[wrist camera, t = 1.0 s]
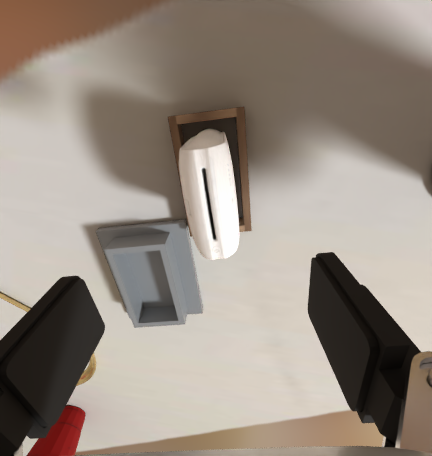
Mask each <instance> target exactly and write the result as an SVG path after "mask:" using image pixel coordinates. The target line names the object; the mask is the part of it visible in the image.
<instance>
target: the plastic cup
mask: <svg viewBox="0 0 432 456" xmlns="http://www.w3.org/2000/svg"><path fill="white" fill-rule="evenodd" d="M84 420H85V412H84V411H83V410H82V409H80V408H78V407H75V406H65V408H64V410H63V412H62V414H61V416H60V417H59V419H58V421H57V422H56V423H55V425H53V426H52V427H51V429H50V430H49V432H48V434H47V436H46V438H39V439H38V440H37V442H36V443H35V445H34V446H33V447H32V449H31V450H30V452H29V453H28V455H27V456H74V455H75V452H76V448H77V445H78V441H79V438H80V434H81V430H82V426H83V423H84Z"/></svg>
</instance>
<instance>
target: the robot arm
mask: <svg viewBox="0 0 432 456" xmlns="http://www.w3.org/2000/svg"><path fill="white" fill-rule="evenodd" d="M308 314H309V317H310V320H311V322H312V324H313V326H314V329H315V331H316V333H317V335H318V338H319V340H320V342H321V344H322V347H323V349H324V351H325V353H326V356H327V358H328V360H329V362H330V365H331V367H332V369H333V372H334V374H335V376H336V378H337V381H338V383H339V385H340V387H341V390H342V392H343V394H344V396H345V399H346V401H347V403H348V405H349V407H350V409H351V410H352V411H357V413H358V415H359V417H360V419H361V421H362V423H375V424H376V426H377V428H378V430H379V432H380V433H381V434H382V435H383V436H384V438H383V444H382V447H370V446H325V447H281V448H280V447H279V448H250V449H222V450H195V451H170V452H145V453H120V454H97V455H74V456H432V352H430V351H427V352H421V351H420V350H419V349H418V348H417V347H416V345H415V344H414V343H413V342H412V341H411V339H410V338H409V337H408V336H407V335H406V334H405V332H404V331H403V330H402V329H401V328H400V326H399V325H398V324H397V323H396V322H395V321H394V319H393V318H392V317H391V316H390V315H389V313H388V312H387V311H386V310H385V309H384V308H383V306H382V305H381V304H380V303H379V302H378V300H377V299H376V298H375V297H374V296H373V295H372V293H371V292H370V291H369V290H368V289H367V288H366V287H365V286H363V285H360V284H359V283H358V281H357V280H356V279H355V278H354V276H353V275H352V274H351V273H350V272H349V270H348V269H347V268H346V267H345V266H344V264H343V263H342V262H341V261H340V259H339V258H338V257H337V256H336V255H335V254H334V253H333V252H330V253H319V254H317V255H316V258H312V261H311V273H310V286H309V299H308ZM104 330H105V325H104V322H103V320H102V318H101V316H100V314H99V311H98V309H97V307H96V305H95V303H94V301H93V299H92V296H91V294H90V292H89V290H88V288H87V286H86V284H85V282H84V280H83V279H81V278H80V277H78V276H68V277H62V278H60V279H59V280H58V281H57V282H56V283H55V284H54V285H53V286H52V287H51V288H50V289H49V290H48V291H47V293H46V294H45V295H44V296H43V297H42V298H41V299H40V300H39V301H38V302H37V303H36V304H35V305H34V306H33V307H32V308H31V309H30V310H29V311H28V312H27V313H26V314H25V315H24V316H23V318H22V319H21V320H20V321H19V322H18V323H17V324H16V325H15V326H14V327H13V328H12V329H11V330H10V331H9V332H8V333H7V334H6V335H5V336H4V337H3V338H2V339H1V340H0V456H23V445H22V442H23V441H24V439H25V437H26V436H28V437H29V438H30V439H33V438H46V436H47V434H48V432H49V430H50V429H51V427H52V426H53V425H55V423H56V422H57V421H58V419H59V417H60V416H61V414H62V412H63V410H64V408H65V406H66V404H67V402H68V400H69V398H70V396H71V395H72V393H73V391H74V389H75V387H76V385H77V383H78V381H79V379H80V377H81V375H82V374H83V372H84V370H85V368H86V366H87V364H88V362H89V360H90V358H91V356H92V354H93V353H94V351H95V349H96V347H97V345H98V343H99V341H100V339H101V337H102V335H103V333H104Z"/></svg>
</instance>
